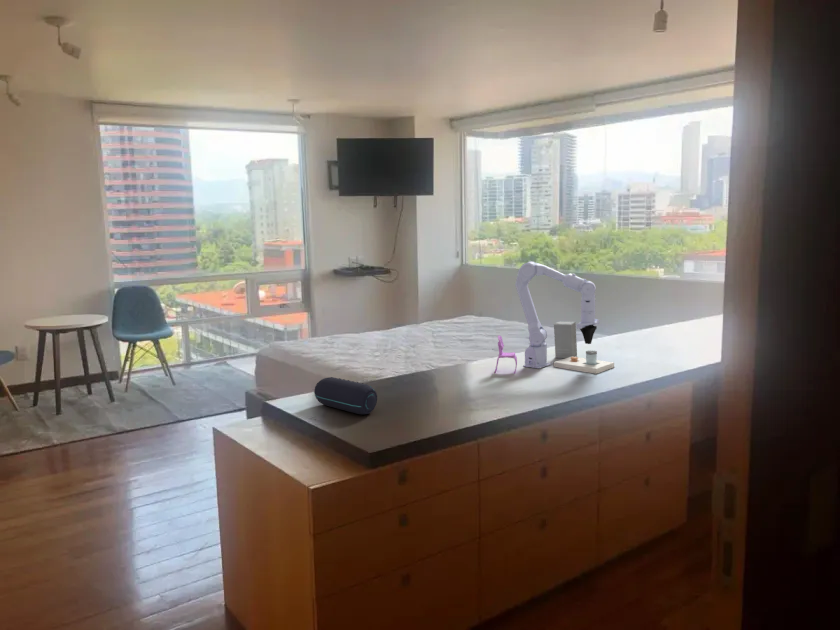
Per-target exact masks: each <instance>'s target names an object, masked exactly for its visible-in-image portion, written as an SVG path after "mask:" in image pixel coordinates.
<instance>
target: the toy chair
mask: <svg viewBox="0 0 840 630" xmlns="http://www.w3.org/2000/svg"><path fill="white" fill-rule="evenodd" d="M497 339H498V342H497V348H498V355H497V356H498V357H497V360H496V366H495V369H494V370H495V371H494V374H496V373H497V369H498V365H499V361H500V360H499V359H502V358H504V359H505V358H509V359H514V362H515V369H514V374H516V372H517V366H518V358H517V355H516V352H515V351H514V352H504V351H503V349H504V347H505V344H504V341H503V337H502V336H501V335H497Z"/></svg>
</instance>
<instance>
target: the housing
mask: <svg viewBox="0 0 840 630" xmlns="http://www.w3.org/2000/svg"><path fill="white" fill-rule="evenodd" d="M577 357H578V356H577ZM553 367H554V368H560V369H567V370H571V371H572V370H573V371H577V372H582V373H583V372H585V373H590V374H596V375H597V374H599V373H602V372H605V371H607V370H610V369H614V368H615V362H614V361H613V362H612V361H605V360H599V359H597V365H587V364H586V357H585V358H584V357H578V359H577V362H572V361H571V357H569V358H561V359H559V360H556V361H554V362H553Z"/></svg>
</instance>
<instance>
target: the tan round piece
mask: <svg viewBox="0 0 840 630" xmlns="http://www.w3.org/2000/svg"><path fill="white" fill-rule="evenodd" d="M577 359H578V356H576V357H571V361H572V362H577Z"/></svg>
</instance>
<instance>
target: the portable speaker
mask: <svg viewBox="0 0 840 630" xmlns="http://www.w3.org/2000/svg"><path fill="white" fill-rule="evenodd" d="M313 390H314V396H315V398H316V400H317V401H318V402H319V404H323V405H324V406H326V407H331V408H334V409H338V410H342V411H346V412H349V413H353V414H357V415H368V414H370V413H372V412H373V411H374V409H375V408H376V407H377V402H378V394H377V391H376V390H375V389H374V388H373V386H371V385H369V384H366V383H361V382H358V381H354V380H353V381H352V380H349V379H345V378H344V379H342V378H339V377H338V378H337V377H332V376H330V377H324V378H322V379H320V380H319V381H318V382H317V383H316V384H315V386H314V389H313Z"/></svg>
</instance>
